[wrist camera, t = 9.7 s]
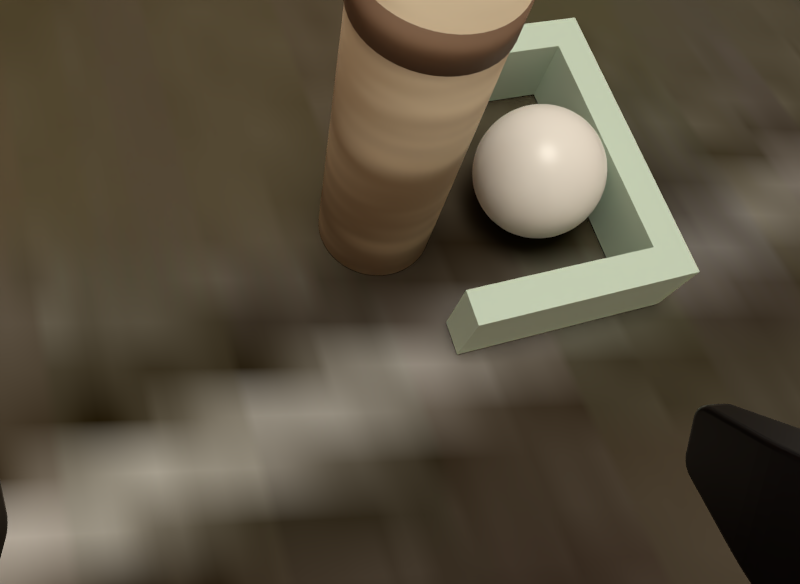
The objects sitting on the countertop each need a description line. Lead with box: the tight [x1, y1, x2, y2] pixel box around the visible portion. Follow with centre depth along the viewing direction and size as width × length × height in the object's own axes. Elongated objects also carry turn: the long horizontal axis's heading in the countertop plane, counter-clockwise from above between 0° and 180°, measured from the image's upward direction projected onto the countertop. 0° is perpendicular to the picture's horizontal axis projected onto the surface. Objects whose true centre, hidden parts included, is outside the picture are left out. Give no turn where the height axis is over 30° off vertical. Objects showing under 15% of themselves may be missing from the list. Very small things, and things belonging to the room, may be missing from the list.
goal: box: [446, 18, 699, 355], centre depth 25 cm, size 11×8×3 cm
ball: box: [472, 104, 607, 238], centre depth 25 cm, size 5×5×5 cm
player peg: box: [319, 0, 535, 275], centre depth 19 cm, size 4×4×13 cm
